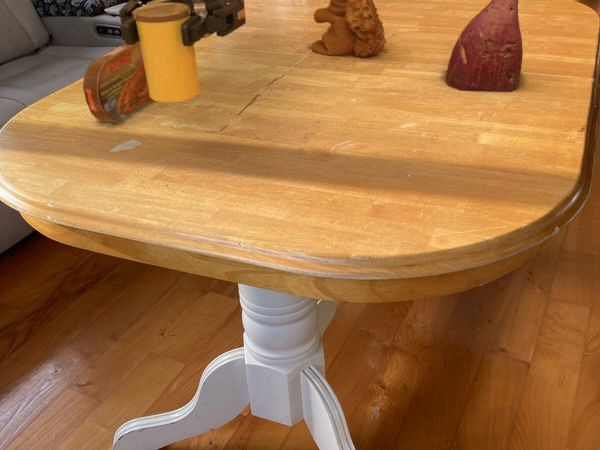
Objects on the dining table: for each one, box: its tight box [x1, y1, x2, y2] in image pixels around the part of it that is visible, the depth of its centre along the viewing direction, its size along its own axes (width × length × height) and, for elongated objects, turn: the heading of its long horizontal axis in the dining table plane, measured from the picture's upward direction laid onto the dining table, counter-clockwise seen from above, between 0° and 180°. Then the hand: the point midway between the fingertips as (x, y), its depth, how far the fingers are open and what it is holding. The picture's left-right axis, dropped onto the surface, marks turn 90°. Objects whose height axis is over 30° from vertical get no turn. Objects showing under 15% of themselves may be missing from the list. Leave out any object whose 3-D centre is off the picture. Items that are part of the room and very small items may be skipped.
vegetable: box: [445, 0, 524, 93], centre depth 82 cm, size 10×10×15 cm
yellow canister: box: [133, 3, 201, 103], centre depth 62 cm, size 6×6×9 cm
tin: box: [82, 41, 152, 124], centre depth 78 cm, size 15×3×8 cm, turn 161°
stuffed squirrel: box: [310, 0, 388, 58], centre depth 95 cm, size 10×14×13 cm
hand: (156, 35), depth 59 cm, fingers closed on yellow canister, 5 cm apart
